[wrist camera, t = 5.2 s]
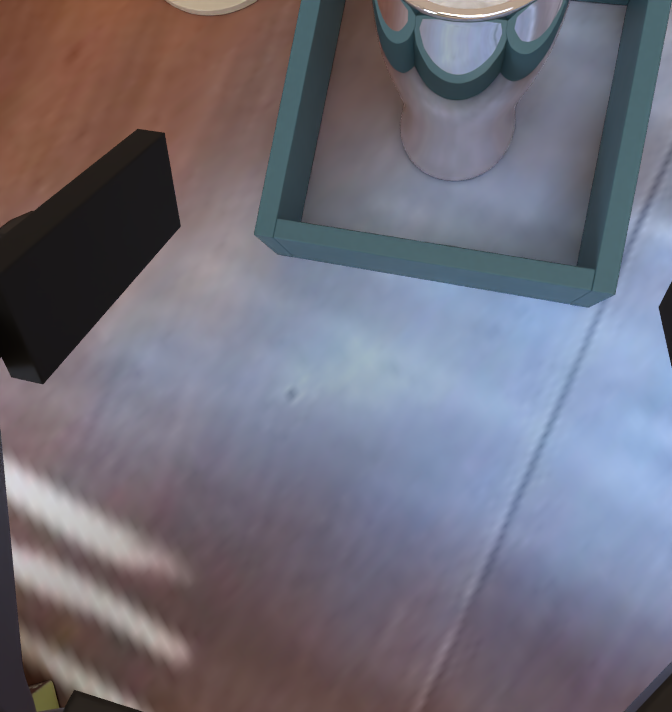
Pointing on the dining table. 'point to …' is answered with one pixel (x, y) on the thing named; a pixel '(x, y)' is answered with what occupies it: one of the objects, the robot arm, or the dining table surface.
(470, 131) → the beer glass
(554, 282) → the box
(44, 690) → the protein box
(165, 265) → the dining table surface
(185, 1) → the plate
